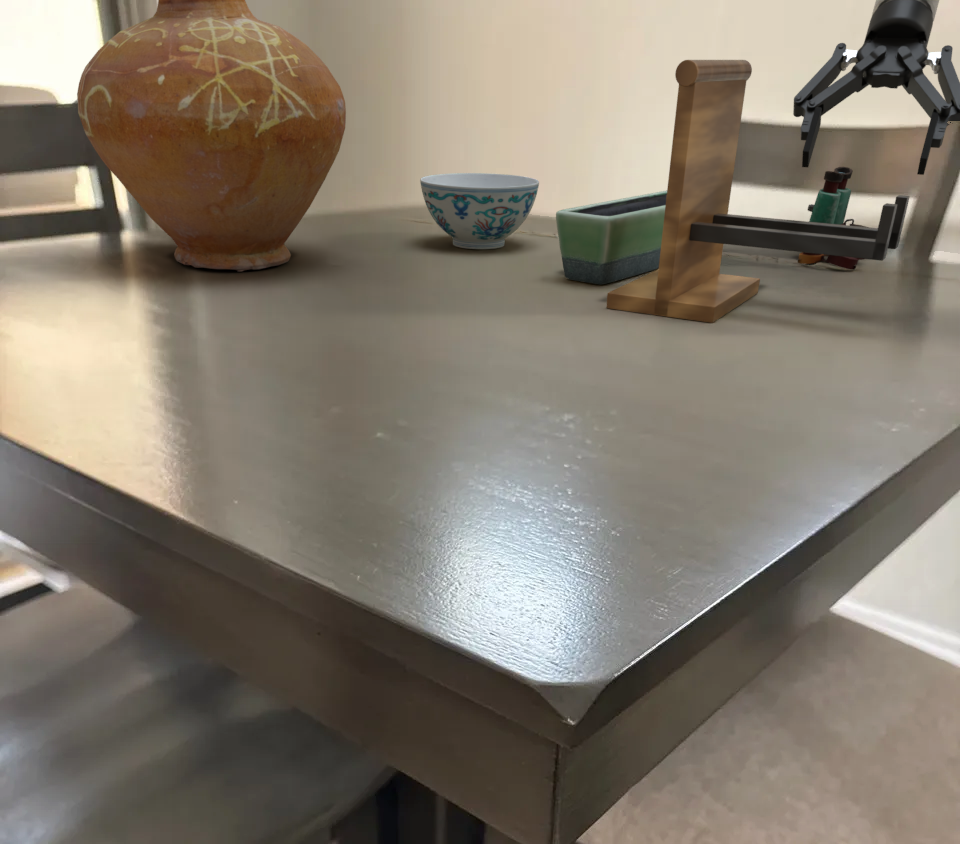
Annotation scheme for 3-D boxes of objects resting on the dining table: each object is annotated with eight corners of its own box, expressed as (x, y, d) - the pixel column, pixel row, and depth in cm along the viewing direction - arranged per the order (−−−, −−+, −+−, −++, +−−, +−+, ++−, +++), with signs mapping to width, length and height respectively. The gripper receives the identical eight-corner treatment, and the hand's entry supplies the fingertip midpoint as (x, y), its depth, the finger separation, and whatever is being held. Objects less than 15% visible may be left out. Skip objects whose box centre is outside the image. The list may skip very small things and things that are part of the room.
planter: (667, 248, 127) (674, 188, 123) (717, 255, 123) (726, 193, 120) (548, 280, 108) (552, 210, 104) (604, 290, 105) (610, 217, 101)
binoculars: (897, 185, 109) (810, 168, 113) (866, 281, 115) (784, 263, 119) (912, 177, 115) (829, 162, 119) (882, 269, 121) (804, 252, 125)
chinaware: (538, 256, 120) (542, 188, 116) (417, 254, 120) (416, 185, 116) (533, 236, 133) (536, 174, 129) (424, 234, 133) (423, 172, 129)
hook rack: (889, 308, 100) (945, 65, 88) (857, 344, 87) (918, 65, 76) (662, 280, 110) (687, 58, 98) (604, 309, 97) (625, 58, 86)
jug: (108, 294, 98) (45, -72, 82) (102, 246, 121) (51, -49, 105) (379, 280, 106) (368, -55, 91) (325, 237, 129) (309, -37, 113)
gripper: (1003, 47, 122) (967, 191, 118) (799, 43, 130) (759, 177, 126) (1017, -6, 115) (979, 146, 111) (801, -7, 123) (759, 134, 119)
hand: (862, 163), depth 118 cm, fingers open, 13 cm apart
